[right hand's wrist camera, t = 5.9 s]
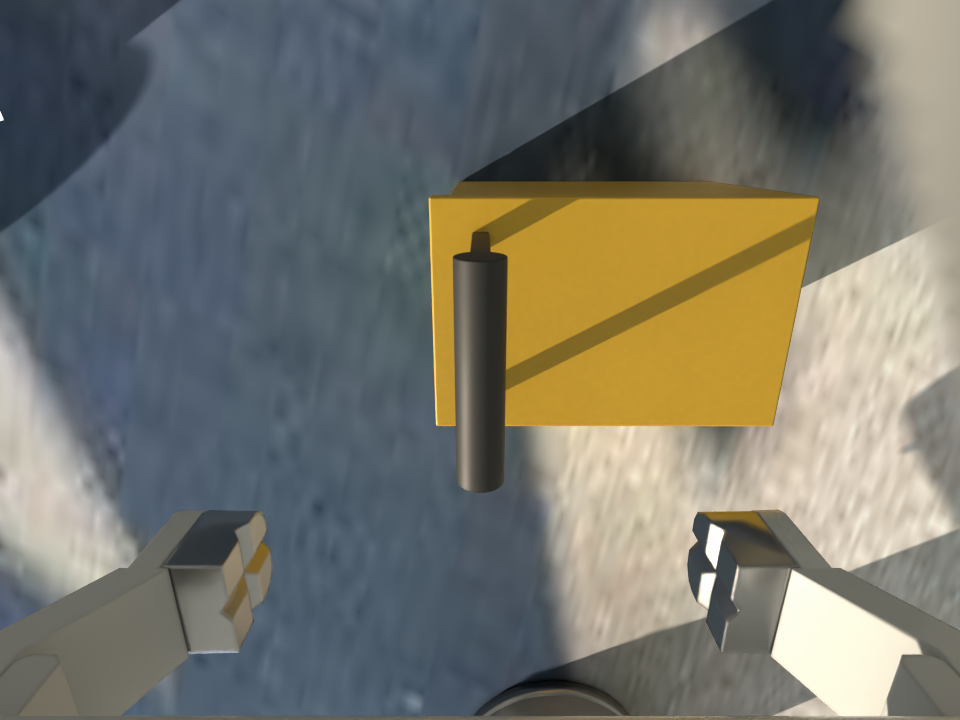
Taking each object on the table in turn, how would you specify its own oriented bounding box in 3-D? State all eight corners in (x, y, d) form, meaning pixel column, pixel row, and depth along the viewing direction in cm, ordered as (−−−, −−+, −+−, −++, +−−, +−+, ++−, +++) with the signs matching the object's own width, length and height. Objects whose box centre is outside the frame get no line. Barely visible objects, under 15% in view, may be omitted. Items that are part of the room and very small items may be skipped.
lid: (437, 415, 27) (419, 523, 19) (431, 194, 24) (405, 217, 16) (761, 415, 27) (876, 524, 19) (805, 194, 24) (967, 217, 16)
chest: (460, 344, 37) (453, 414, 27) (458, 181, 34) (448, 194, 24) (687, 344, 37) (761, 415, 27) (709, 181, 34) (804, 194, 24)
